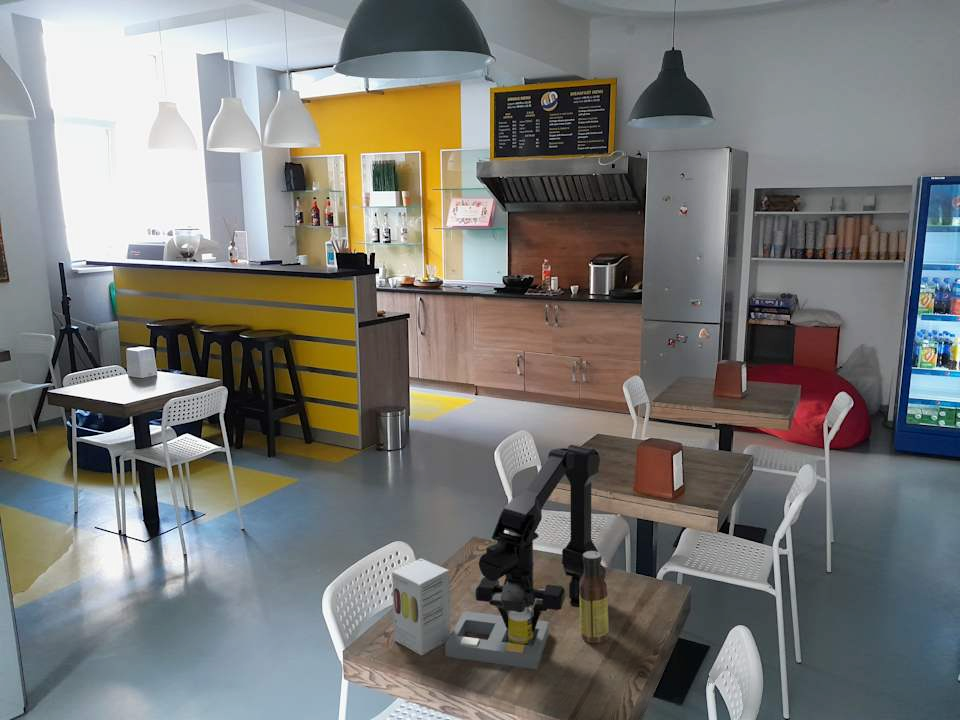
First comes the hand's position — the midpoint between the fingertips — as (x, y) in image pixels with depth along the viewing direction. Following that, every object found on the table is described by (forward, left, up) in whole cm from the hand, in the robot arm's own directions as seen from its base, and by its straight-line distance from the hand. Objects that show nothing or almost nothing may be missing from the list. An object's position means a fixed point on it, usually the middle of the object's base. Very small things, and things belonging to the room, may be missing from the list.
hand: (520, 629), depth 160 cm
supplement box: (+22, +2, -5) cm, 23 cm away
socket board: (+5, 0, -4) cm, 7 cm away
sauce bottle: (-15, -8, -5) cm, 18 cm away
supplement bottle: (0, 0, -3) cm, 3 cm away
